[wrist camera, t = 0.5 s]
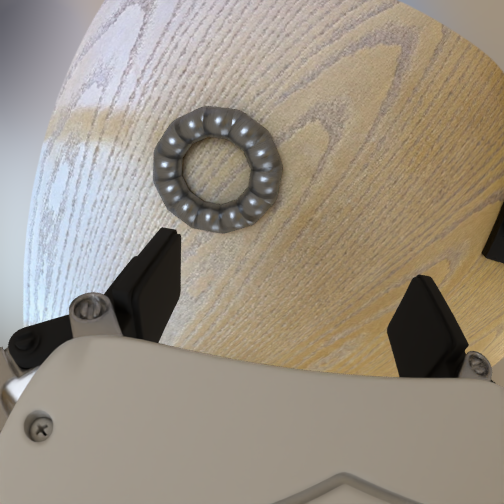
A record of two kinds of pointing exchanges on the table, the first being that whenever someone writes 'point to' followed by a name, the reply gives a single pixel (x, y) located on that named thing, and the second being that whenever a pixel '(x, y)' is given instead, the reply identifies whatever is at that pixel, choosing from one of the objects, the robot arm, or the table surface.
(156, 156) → the dark gray twisted ring
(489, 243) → the black peg stand
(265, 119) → the table surface
